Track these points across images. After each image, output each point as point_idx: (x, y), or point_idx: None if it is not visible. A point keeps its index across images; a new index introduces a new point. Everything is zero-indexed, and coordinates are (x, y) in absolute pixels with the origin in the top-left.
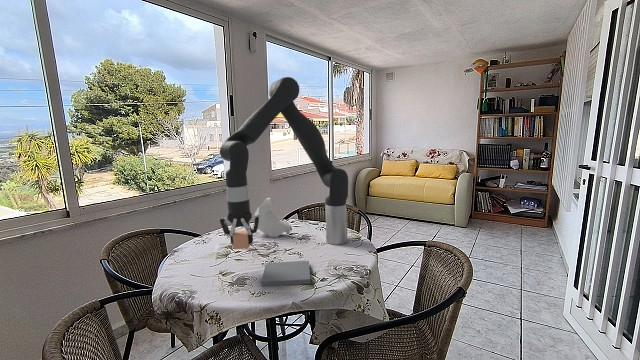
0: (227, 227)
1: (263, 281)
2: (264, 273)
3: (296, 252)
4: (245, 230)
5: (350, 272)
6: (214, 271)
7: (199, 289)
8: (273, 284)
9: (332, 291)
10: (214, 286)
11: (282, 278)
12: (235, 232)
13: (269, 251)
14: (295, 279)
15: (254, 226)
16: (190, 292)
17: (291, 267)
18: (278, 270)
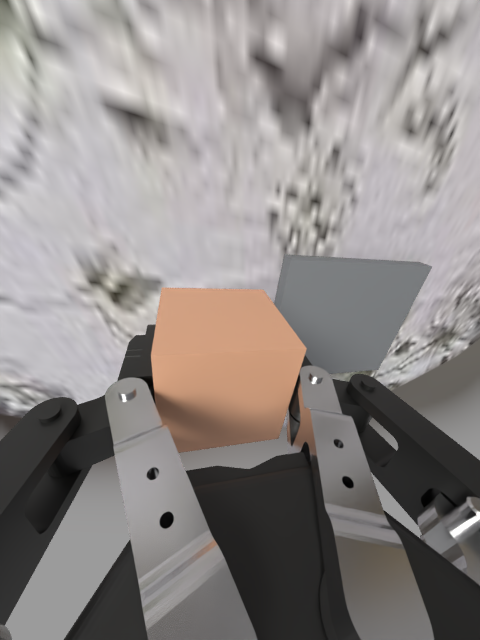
0: (36, 476)
1: None
2: None
3: (443, 113)
4: (265, 354)
5: (470, 322)
6: (52, 261)
7: (70, 382)
8: None
9: (391, 387)
10: (117, 369)
11: (320, 365)
12: (163, 396)
13: (327, 23)
14: (347, 370)
15: (375, 472)
16: (48, 396)
17: (363, 308)
18: (321, 323)
